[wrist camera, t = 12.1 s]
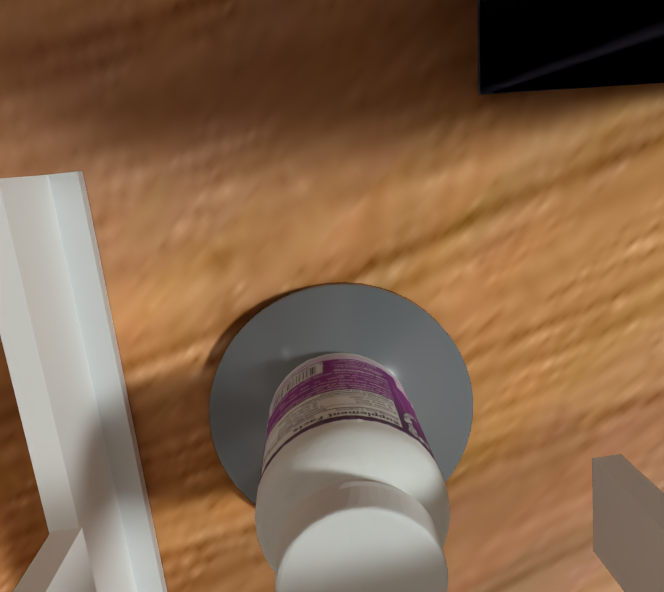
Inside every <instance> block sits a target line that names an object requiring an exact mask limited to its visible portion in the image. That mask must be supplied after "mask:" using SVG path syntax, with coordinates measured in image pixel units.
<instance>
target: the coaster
mask: <svg viewBox="0 0 664 592" xmlns="http://www.w3.org/2000/svg"><path fill="white" fill-rule="evenodd" d="M331 353H351V354H358V355H361V356H364V357H367V358H370V359H372V360H374V361H376V362H377V363H379V364H381V365H382V366H384V367H385V368H386V369H388V370H389V371H390V372H391V373H392V374H393V375H394V376H395V377H396V378H397V380H398V381H399V382H400V384H401V385H402V387H403V389H404V391H405V393H406V394H407V396H408V398H409V400H410V402H411V404H412V407H413V409H414V412H415V414H416V416H417V419H418V421H419V423H420V426H421V428H422V430H423V433H424V435H425V437H426V439H427V442H428V444H429V446H430V449H431V451H432V453H433V455H434V458H435V460H436V462H437V464H438V466H439V468H440V470H441V472H442V475H443V478H444V481H445V482H446V481H447V479H448V478H449V477H450V476H451V474H452V473H453V471H454V469H455V468H456V466H457V464H458V463H459V461H460V459H461V457H462V454H463V452H464V450H465V447H466V445H467V441H468V438H469V434H470V431H471V424H472V417H473V395H472V388H471V382H470V378H469V375H468V371H467V368H466V365H465V363H464V361H463V358H462V356H461V354H460V352H459V350H458V349H457V347H456V345H455V344H454V342H453V341H452V339H451V338H450V336H449V335H448V334H447V333H446V331H445V330H444V329H443V328H442V327H441V325H440V324H439V323H438V322H437V321H436V320H435V319H434V318H433V317H432V316H431V315H430V314H429V313H427V312H426V311H425V310H424V309H423V308H421V307H420V306H418V305H417V304H415V303H414V302H412V301H411V300H409V299H407V298H405V297H403V296H401V295H399V294H397V293H395V292H392V291H389V290H386V289H383V288H380V287H376V286H372V285H367V284H362V283H348V282H339V283H325V284H320V285H314V286H309V287H306V288H303V289H300V290H297V291H294V292H291V293H289V294H287V295H285V296H283V297H280V298H278V299H276V300H275V301H273V302H272V303H270V304H269V305H267V306H265V307H264V308H262V309H261V310H260V311H259V312H257V313H256V314H255V315H254V316H253V317H252V318H250V319H249V320H248V321H247V322H246V323H245V325H244V326H243V327H242V328H241V329H240V330H239V331H238V332H237V334H236V335H235V337H234V338H233V339H232V341H231V342H230V344H229V345H228V347H227V349H226V351H225V353H224V355H223V357H222V359H221V361H220V363H219V366H218V369H217V372H216V375H215V378H214V380H213V384H212V390H211V395H210V406H209V419H210V429H211V435H212V439H213V443H214V447H215V449H216V452H217V454H218V457H219V459H220V462H221V464H222V465H223V467H224V469H225V471H226V472H227V474H228V476H229V477H230V478H231V480H232V481H233V482H234V484H235V485H236V486H237V488H238V489H239V490H240V491H241V492H242V493H243V494H244V495H245V496H246V497H247V498H248V499H249V500H250V501H252V502H253V503H254V504H256V500H257V491H258V484H259V478H260V471H261V464H262V458H263V452H264V447H265V441H266V433H267V424H268V418H269V410H270V406H271V403H272V400H273V397H274V395H275V392H276V391H277V389H278V387H279V386H280V384H281V383H282V382H283V380H284V379H285V377H286V376H287V375H288V374H289V373H290V372H292V371H293V370H294V369H295V368H296V367H298V366H299V365H300V364H302V363H303V362H305V361H307V360H309V359H312V358H316V357H318V356H321V355H325V354H331Z"/></svg>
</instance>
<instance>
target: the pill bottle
mask: <svg viewBox="0 0 664 592" xmlns="http://www.w3.org/2000/svg"><path fill="white" fill-rule="evenodd" d="M449 520H450V506H449V498H448V493H447V489H446V485H445V481H444V478H443V475H442V472H441V470H440V468H439V466H438V464H437V462H436V460H435V458H434V455H433V453H432V451H431V449H430V446H429V444H428V442H427V439H426V437H425V435H424V433H423V430H422V428H421V426H420V423H419V421H418V419H417V416H416V414H415V412H414V409H413V407H412V404H411V402H410V400H409V398H408V396H407V394H406V393H405V391H404V389H403V387H402V385H401V384H400V382H399V381H398V380H397V378H396V377H395V376H394V375H393V374H392V373H391V372H390V371H389V370H388V369H386V368H385V367H384V366H382V365H381V364H379V363H377V362H376V361H374V360H372V359H370V358H367V357H364V356H361V355H358V354H351V353H331V354H325V355H321V356H318V357H316V358H312V359H309V360H307V361H305V362H303V363H302V364H300V365H299V366H298V367H296V368H295V369H294V370H293V371H292V372H290V373H289V374H288V375H287V376H286V377H285V379H284V380H283V382H282V383H281V384H280V386H279V387H278V389H277V391H276V392H275V395H274V397H273V400H272V403H271V406H270V410H269V418H268V424H267V433H266V441H265V447H264V452H263V458H262V464H261V471H260V478H259V484H258V491H257V500H256V509H255V523H256V531H257V536H258V540H259V544H260V547H261V549H262V552H263V554H264V556H265V558H266V560H267V562H268V563H269V565H270V567H271V568H272V570H273V571H274V572H275V592H447V588H448V570H447V565H446V560H445V556H444V553H443V546H444V543H445V540H446V537H447V533H448V528H449Z"/></svg>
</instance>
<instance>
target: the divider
mask: <svg viewBox="0 0 664 592" xmlns="http://www.w3.org/2000/svg"><path fill="white" fill-rule="evenodd" d="M0 336H1V340H2V344H3V348H4V352H5V356H6V360H7V364H8V368H9V372H10V376H11V380H12V384H13V388H14V393H15V397H16V401H17V405H18V409H19V413H20V417H21V421H22V425H23V429H24V433H25V437H26V441H27V445H28V449H29V453H30V457H31V462H32V466H33V470H34V474H35V478H36V482H37V486H38V490H39V494H40V498H41V502H42V506H43V510H44V514H45V518H46V522H47V527H48V531H49V534H50V533H51V532H52V531H60V530H67V529H74V528H82V530H83V534H84V538H85V543H86V547H87V551H88V556H89V560H90V564H91V568H92V573H93V577H94V581H95V585H96V590H97V592H167V588H166V583H165V578H164V573H163V568H162V564H161V559H160V554H159V549H158V544H157V539H156V534H155V529H154V524H153V519H152V514H151V509H150V504H149V499H148V494H147V489H146V484H145V479H144V474H143V469H142V464H141V459H140V454H139V449H138V444H137V439H136V435H135V430H134V425H133V420H132V415H131V410H130V405H129V400H128V395H127V390H126V385H125V380H124V375H123V370H122V365H121V360H120V355H119V350H118V345H117V340H116V335H115V330H114V325H113V320H112V315H111V310H110V306H109V301H108V296H107V291H106V286H105V281H104V276H103V271H102V266H101V261H100V256H99V251H98V246H97V241H96V236H95V231H94V226H93V221H92V216H91V211H90V206H89V201H88V196H87V191H86V186H85V181H84V177H83V172H82V171H76V172H67V173H59V174H50V175H38V176H26V177H13V178H0Z"/></svg>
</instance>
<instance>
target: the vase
mask: <svg viewBox="0 0 664 592" xmlns="http://www.w3.org/2000/svg"><path fill="white" fill-rule="evenodd" d="M653 83H664V0H478V91H479V95H481V94H497V93H512V92H528V91H543V90H559V89H575V88H590V87H606V86H622V85H637V84H653Z"/></svg>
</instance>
